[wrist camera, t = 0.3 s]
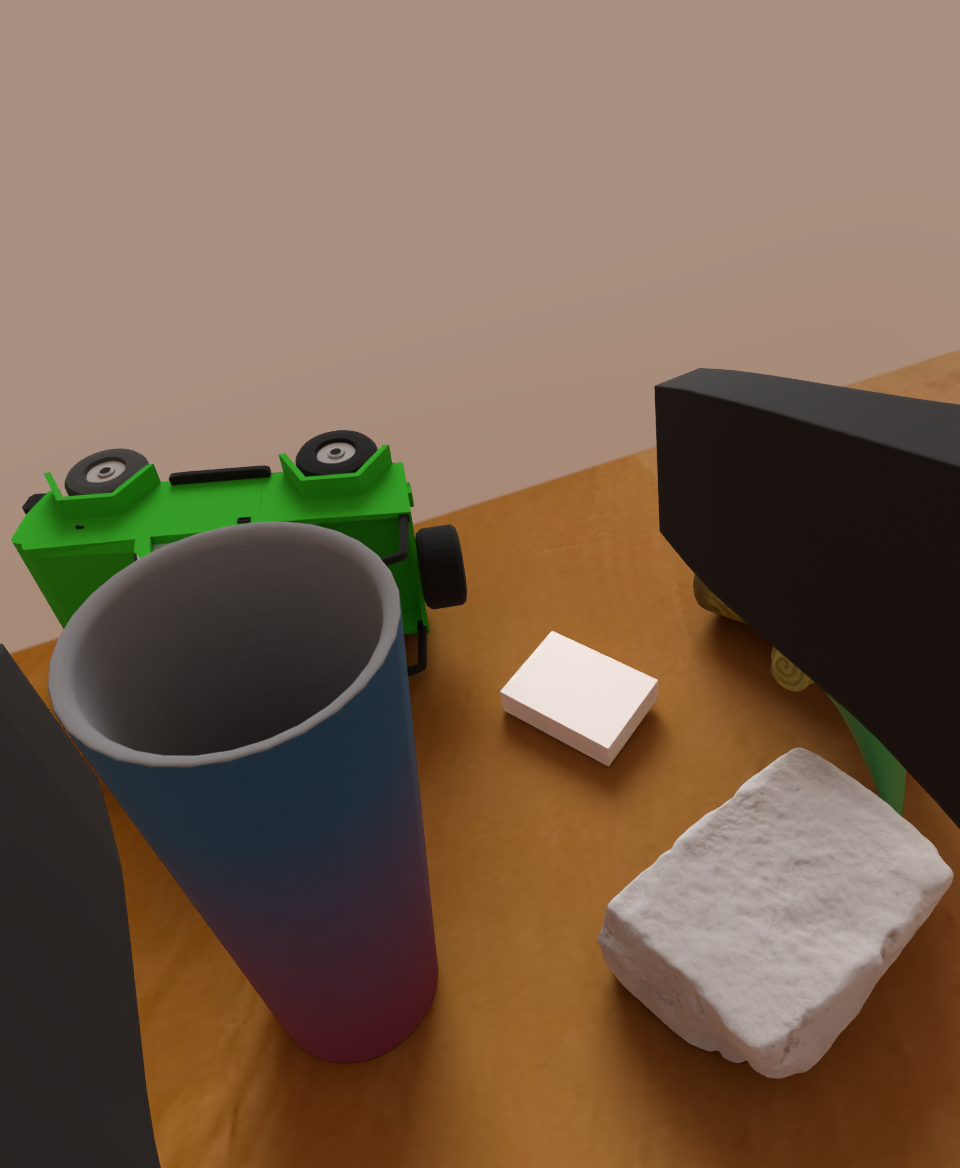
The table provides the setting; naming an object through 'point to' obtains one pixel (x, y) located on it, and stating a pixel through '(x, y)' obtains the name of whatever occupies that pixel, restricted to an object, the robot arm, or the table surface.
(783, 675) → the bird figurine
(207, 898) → the cup
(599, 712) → the eraser
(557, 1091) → the table surface
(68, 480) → the toy car
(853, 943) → the white stone block
